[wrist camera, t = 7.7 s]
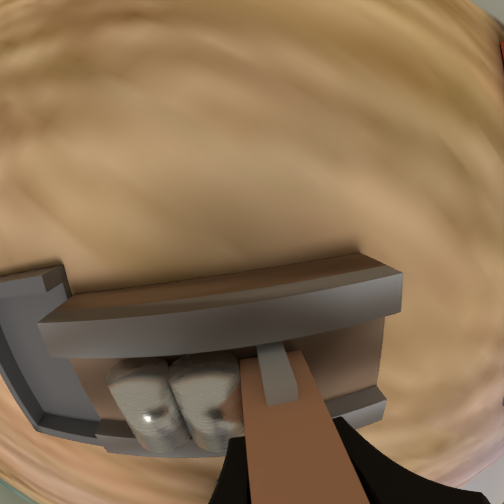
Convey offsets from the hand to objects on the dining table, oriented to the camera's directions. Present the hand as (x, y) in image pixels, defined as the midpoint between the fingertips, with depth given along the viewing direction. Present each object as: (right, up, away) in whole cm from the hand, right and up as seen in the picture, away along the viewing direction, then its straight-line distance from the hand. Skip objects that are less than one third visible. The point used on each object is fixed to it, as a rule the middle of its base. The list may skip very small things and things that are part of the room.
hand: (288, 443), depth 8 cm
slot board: (-3, +1, +7) cm, 8 cm away
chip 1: (-6, 0, +3) cm, 7 cm away
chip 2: (-3, 0, +3) cm, 4 cm away
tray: (-17, -1, +7) cm, 18 cm away
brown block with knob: (0, +1, +4) cm, 4 cm away
